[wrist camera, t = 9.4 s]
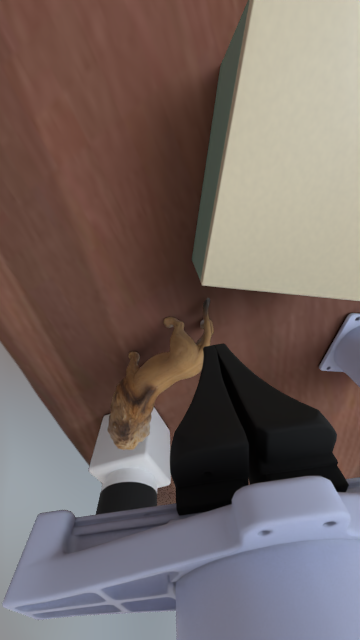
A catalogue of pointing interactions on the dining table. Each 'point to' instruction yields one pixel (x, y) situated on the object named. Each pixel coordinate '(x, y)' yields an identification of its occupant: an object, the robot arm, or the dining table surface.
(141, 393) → the lion figurine
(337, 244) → the lid
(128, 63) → the dining table surface
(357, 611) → the robot arm
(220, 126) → the box
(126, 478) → the medicine bottle
